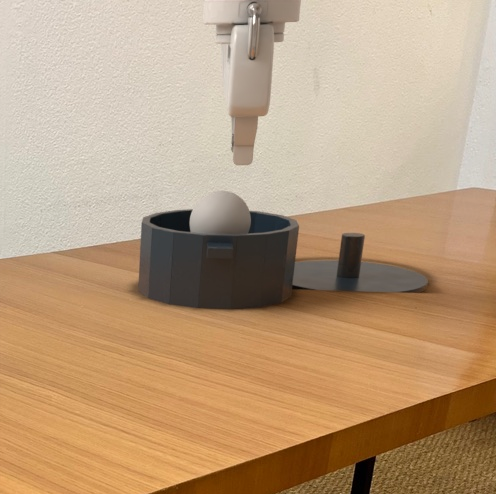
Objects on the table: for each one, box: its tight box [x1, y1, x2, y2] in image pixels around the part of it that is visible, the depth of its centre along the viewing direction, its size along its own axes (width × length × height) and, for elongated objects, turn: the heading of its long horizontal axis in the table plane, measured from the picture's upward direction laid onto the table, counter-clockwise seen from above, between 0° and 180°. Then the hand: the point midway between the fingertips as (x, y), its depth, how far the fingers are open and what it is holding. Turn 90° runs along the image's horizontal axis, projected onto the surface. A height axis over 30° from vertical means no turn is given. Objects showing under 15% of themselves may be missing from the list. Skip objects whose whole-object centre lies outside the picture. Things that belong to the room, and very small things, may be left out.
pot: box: [137, 208, 300, 310], centre depth 109 cm, size 16×21×8 cm
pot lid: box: [292, 232, 429, 294], centre depth 116 cm, size 17×17×6 cm
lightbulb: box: [190, 190, 251, 234], centre depth 108 cm, size 6×6×11 cm
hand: (240, 158), depth 104 cm, fingers open, 8 cm apart
